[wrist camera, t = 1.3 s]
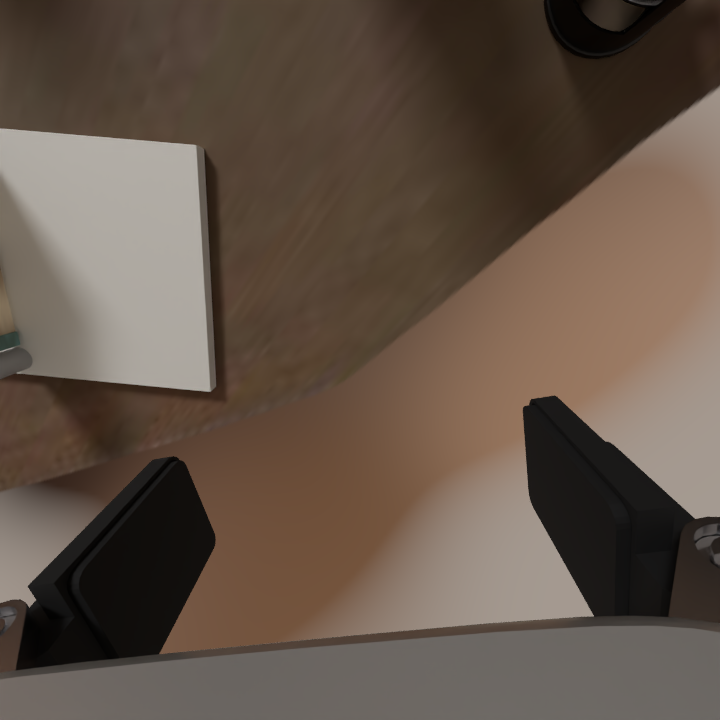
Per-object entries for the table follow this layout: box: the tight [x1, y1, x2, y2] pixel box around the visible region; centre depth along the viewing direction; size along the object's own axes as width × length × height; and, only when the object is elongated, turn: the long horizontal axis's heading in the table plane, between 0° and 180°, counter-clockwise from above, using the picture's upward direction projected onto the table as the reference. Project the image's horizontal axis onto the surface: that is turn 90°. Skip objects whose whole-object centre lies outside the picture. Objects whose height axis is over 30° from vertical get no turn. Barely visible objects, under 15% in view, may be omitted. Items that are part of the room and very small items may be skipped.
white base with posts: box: [0, 129, 216, 392], centre depth 30 cm, size 23×26×14 cm
